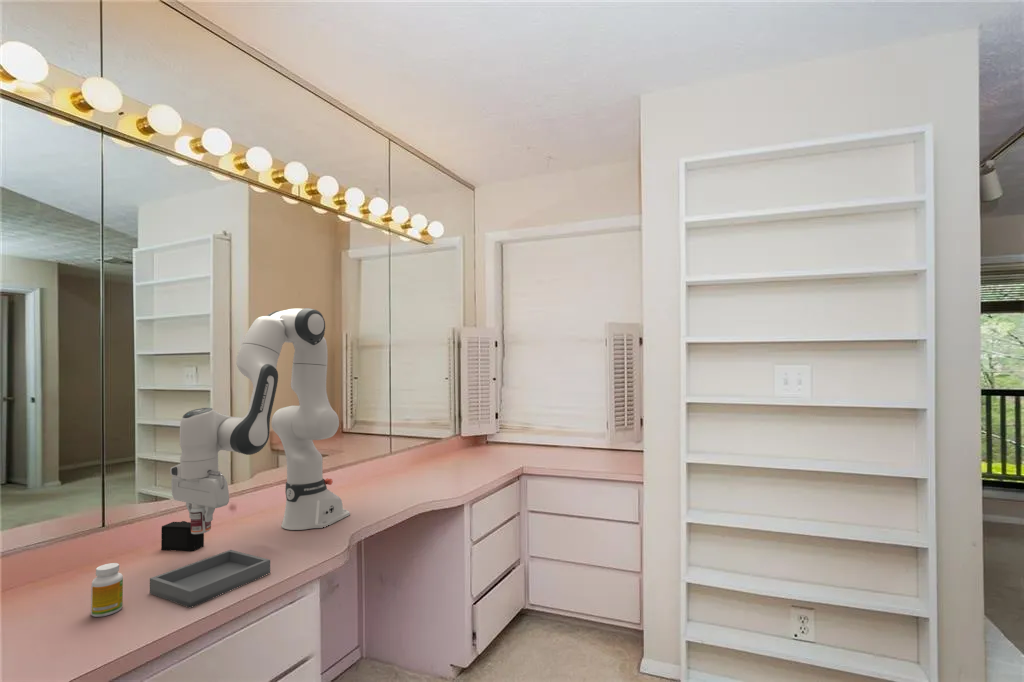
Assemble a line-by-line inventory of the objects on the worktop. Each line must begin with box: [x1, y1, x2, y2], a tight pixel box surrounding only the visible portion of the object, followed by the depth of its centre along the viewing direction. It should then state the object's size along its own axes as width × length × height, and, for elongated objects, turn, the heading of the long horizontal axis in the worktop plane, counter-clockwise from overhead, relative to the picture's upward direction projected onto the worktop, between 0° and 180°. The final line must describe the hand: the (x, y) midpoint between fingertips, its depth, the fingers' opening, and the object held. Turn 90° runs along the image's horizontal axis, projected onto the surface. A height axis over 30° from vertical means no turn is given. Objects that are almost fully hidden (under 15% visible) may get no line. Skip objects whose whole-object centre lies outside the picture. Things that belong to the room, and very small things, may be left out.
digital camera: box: [160, 520, 205, 552], centre depth 150 cm, size 10×5×7 cm, turn 82°
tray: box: [149, 549, 271, 608], centre depth 125 cm, size 20×16×4 cm
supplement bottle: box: [90, 562, 124, 618], centre depth 111 cm, size 5×5×10 cm
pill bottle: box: [189, 502, 212, 534], centre depth 138 cm, size 5×5×8 cm
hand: (201, 519), depth 139 cm, fingers closed on pill bottle, 5 cm apart
